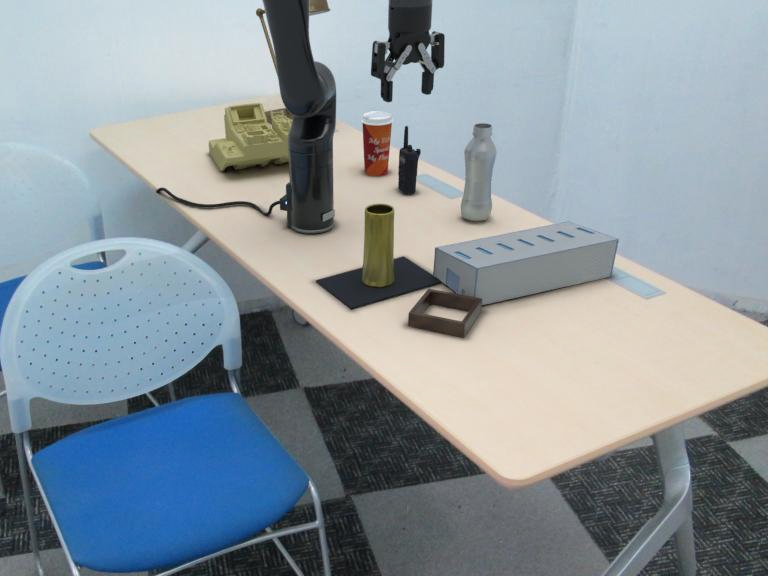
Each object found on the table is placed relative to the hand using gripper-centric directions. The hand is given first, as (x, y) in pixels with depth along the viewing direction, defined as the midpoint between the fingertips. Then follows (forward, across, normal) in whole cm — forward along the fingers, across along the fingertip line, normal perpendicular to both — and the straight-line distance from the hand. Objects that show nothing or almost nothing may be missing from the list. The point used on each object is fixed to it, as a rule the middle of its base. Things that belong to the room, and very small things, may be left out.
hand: (406, 97), depth 157 cm
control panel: (+30, +2, -64) cm, 71 cm away
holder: (+30, +10, +28) cm, 42 cm away
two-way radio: (+30, -20, -26) cm, 45 cm away
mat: (+30, +12, +10) cm, 34 cm away
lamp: (+30, -24, -94) cm, 102 cm away
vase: (+30, +12, +10) cm, 34 cm away
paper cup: (+30, -20, -41) cm, 55 cm away
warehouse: (+30, -12, +22) cm, 39 cm away
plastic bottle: (+30, -22, -5) cm, 38 cm away
